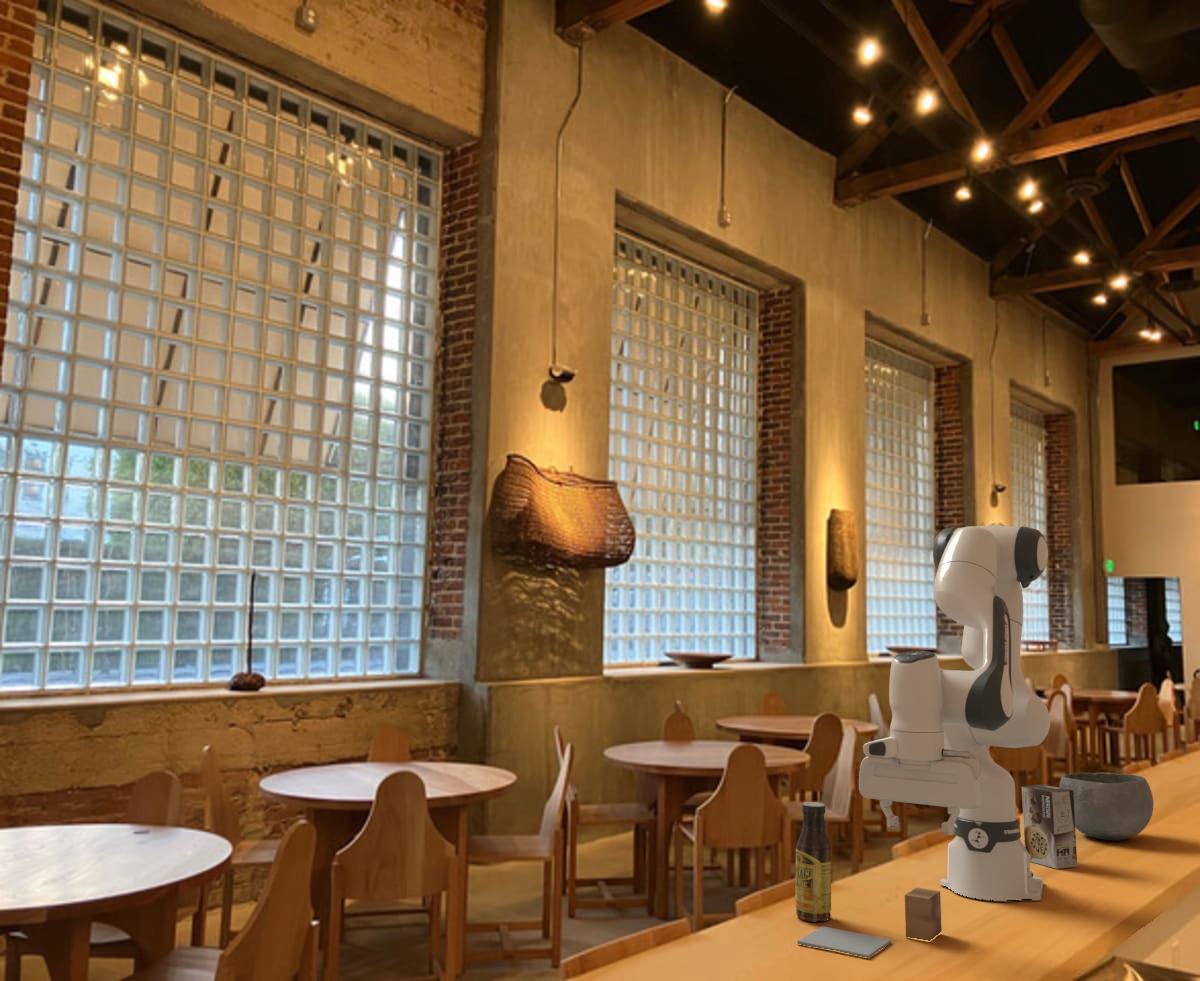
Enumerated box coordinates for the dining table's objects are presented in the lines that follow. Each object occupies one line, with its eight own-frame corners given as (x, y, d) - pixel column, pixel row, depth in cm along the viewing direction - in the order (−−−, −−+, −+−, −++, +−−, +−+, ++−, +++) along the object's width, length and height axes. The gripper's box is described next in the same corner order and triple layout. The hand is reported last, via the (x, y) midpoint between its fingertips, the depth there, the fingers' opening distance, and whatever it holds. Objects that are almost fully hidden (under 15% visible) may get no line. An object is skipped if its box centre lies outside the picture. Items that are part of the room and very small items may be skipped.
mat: (822, 930, 176) (822, 926, 176) (891, 943, 169) (891, 939, 169) (797, 944, 168) (797, 941, 168) (868, 959, 161) (868, 955, 161)
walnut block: (918, 930, 177) (916, 887, 178) (941, 934, 174) (940, 891, 175) (906, 938, 172) (904, 895, 173) (929, 943, 170) (928, 898, 170)
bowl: (1134, 830, 260) (1131, 769, 262) (1171, 848, 240) (1166, 782, 242) (1049, 828, 262) (1047, 768, 264) (1078, 846, 242) (1075, 780, 244)
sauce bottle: (789, 915, 185) (787, 801, 187) (819, 912, 187) (816, 799, 189) (808, 925, 179) (806, 807, 181) (839, 922, 181) (837, 805, 183)
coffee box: (1079, 867, 222) (1075, 789, 224) (1055, 869, 219) (1052, 791, 221) (1046, 857, 230) (1042, 783, 232) (1023, 860, 228) (1020, 785, 230)
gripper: (985, 750, 173) (988, 835, 172) (867, 741, 185) (870, 820, 184) (973, 754, 168) (977, 841, 167) (854, 744, 180) (856, 826, 179)
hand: (920, 830), depth 175 cm, fingers open, 8 cm apart
